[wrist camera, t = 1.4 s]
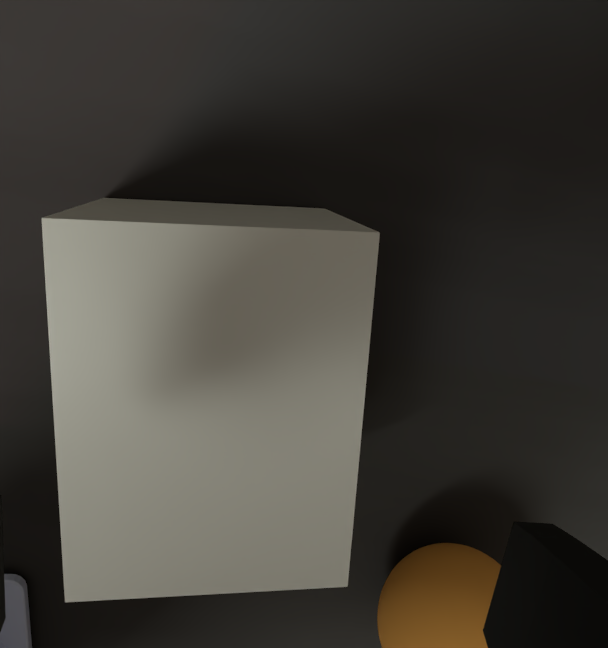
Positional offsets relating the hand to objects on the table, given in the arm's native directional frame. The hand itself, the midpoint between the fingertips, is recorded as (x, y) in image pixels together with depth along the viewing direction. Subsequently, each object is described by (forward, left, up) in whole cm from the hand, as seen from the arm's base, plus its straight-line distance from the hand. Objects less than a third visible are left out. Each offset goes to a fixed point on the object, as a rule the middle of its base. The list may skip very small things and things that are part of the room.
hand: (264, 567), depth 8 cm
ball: (+7, -9, -8) cm, 14 cm away
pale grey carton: (-1, 0, -11) cm, 11 cm away
